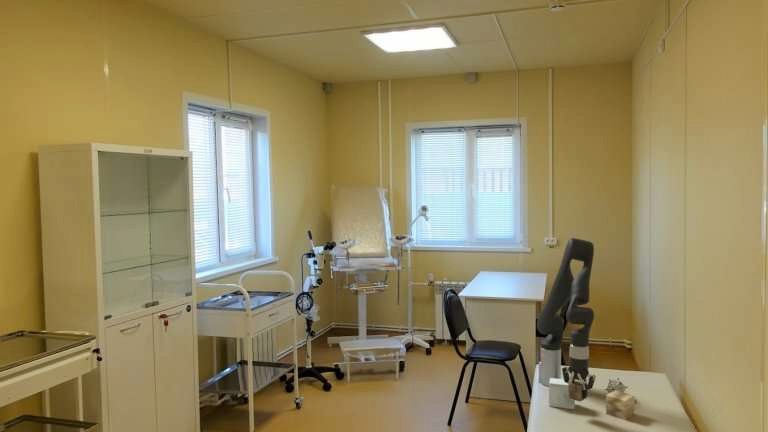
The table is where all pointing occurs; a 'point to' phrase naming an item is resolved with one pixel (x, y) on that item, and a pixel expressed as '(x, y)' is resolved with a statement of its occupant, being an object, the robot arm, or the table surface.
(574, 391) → the block
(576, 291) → the robot arm
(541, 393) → the table surface
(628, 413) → the tower base
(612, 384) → the game die
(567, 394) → the skincare box
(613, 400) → the tower top
